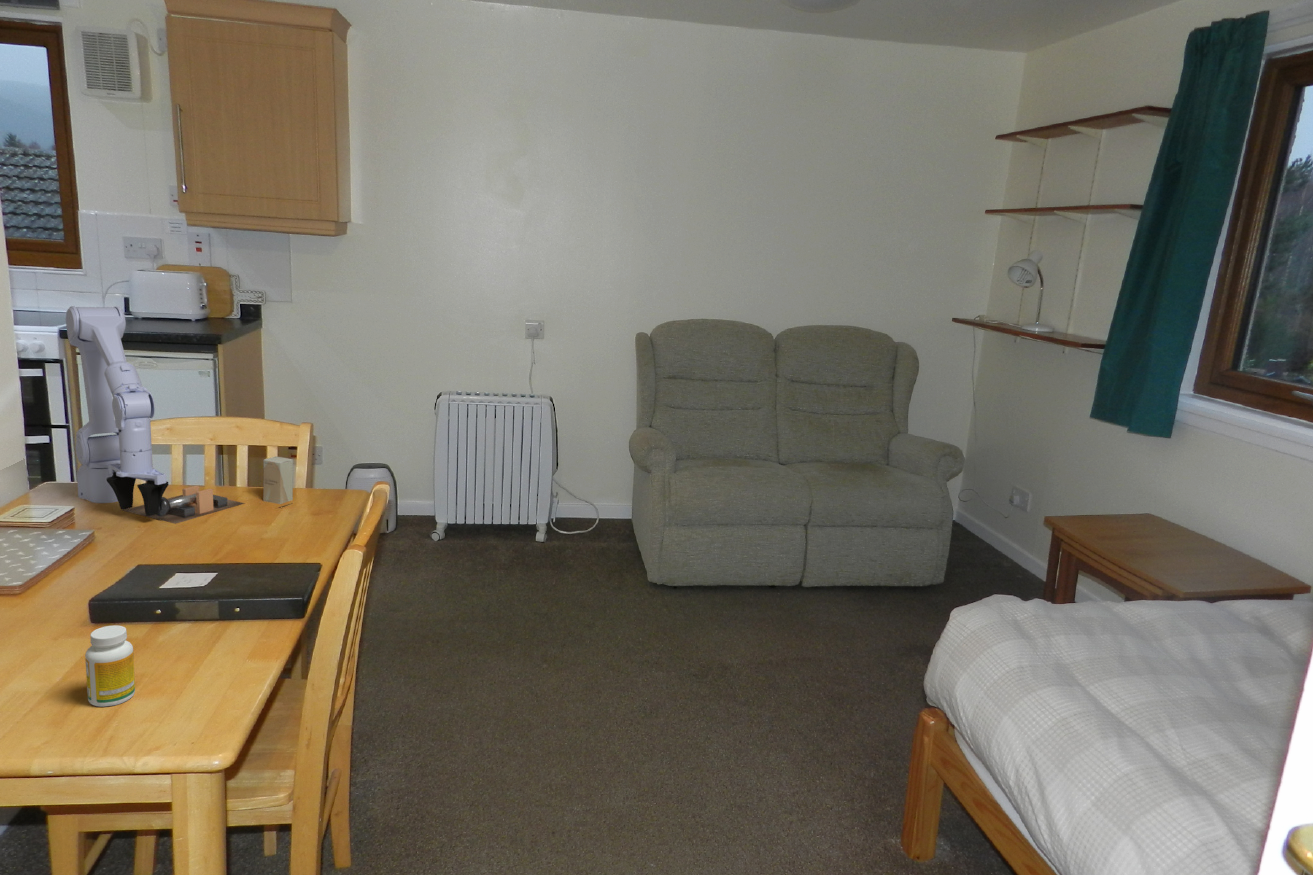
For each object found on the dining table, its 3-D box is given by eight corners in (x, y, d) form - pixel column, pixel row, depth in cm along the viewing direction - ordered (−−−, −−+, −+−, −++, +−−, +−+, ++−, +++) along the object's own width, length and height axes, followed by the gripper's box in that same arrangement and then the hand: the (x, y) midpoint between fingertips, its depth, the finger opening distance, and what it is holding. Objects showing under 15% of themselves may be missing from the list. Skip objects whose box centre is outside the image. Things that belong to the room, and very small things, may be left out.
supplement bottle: (78, 702, 111) (73, 635, 109) (114, 684, 116) (110, 619, 114) (109, 711, 109) (105, 643, 107) (145, 692, 114) (141, 627, 112)
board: (122, 514, 182) (122, 510, 182) (194, 495, 199) (194, 491, 199) (175, 527, 177) (175, 523, 177) (245, 507, 193) (244, 503, 193)
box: (262, 504, 196) (261, 459, 194) (275, 500, 200) (275, 455, 198) (281, 508, 195) (280, 462, 192) (294, 503, 199) (293, 458, 196)
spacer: (183, 509, 186) (182, 488, 185) (197, 505, 189) (196, 485, 188) (199, 513, 184) (199, 492, 183) (213, 509, 187) (212, 489, 186)
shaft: (152, 514, 178) (151, 496, 177) (201, 501, 189) (201, 484, 188) (165, 517, 177) (165, 499, 176) (215, 504, 188) (214, 487, 187)
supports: (168, 513, 182) (167, 505, 182) (211, 502, 192) (210, 494, 192) (184, 518, 180) (184, 509, 180) (227, 505, 190) (227, 497, 190)
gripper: (92, 447, 173) (96, 509, 176) (142, 458, 168) (146, 522, 170) (125, 441, 179) (128, 502, 182) (174, 451, 174) (176, 513, 177)
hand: (139, 511), depth 177 cm, fingers open, 7 cm apart
